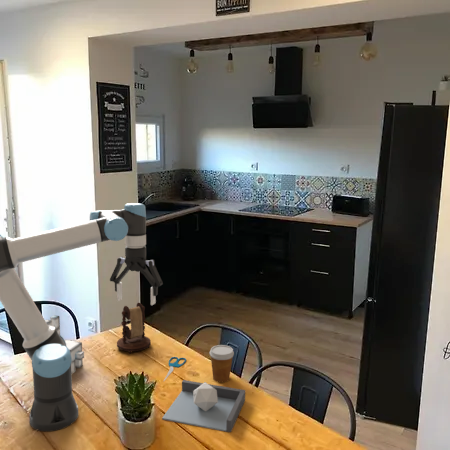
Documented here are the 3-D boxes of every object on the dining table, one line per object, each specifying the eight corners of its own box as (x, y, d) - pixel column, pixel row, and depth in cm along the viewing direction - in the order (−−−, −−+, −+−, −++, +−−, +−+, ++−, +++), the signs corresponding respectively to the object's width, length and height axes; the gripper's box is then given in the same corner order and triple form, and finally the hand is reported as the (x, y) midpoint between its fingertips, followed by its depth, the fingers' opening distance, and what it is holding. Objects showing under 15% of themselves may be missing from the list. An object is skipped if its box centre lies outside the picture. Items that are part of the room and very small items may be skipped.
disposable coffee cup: (212, 386, 174) (212, 356, 172) (206, 374, 183) (207, 345, 181) (236, 383, 177) (237, 353, 175) (229, 371, 186) (230, 343, 184)
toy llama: (77, 375, 180) (75, 326, 177) (39, 368, 185) (36, 321, 182) (88, 366, 187) (86, 319, 184) (50, 360, 192) (48, 314, 189)
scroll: (127, 357, 196) (127, 312, 192) (110, 346, 207) (109, 303, 203) (157, 348, 206) (156, 305, 202) (139, 337, 216) (138, 296, 213)
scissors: (187, 358, 195) (171, 381, 176) (187, 360, 196) (171, 384, 176) (171, 356, 197) (155, 379, 177) (171, 358, 197) (155, 382, 178)
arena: (230, 432, 146) (231, 420, 146) (162, 419, 153) (162, 408, 152) (245, 400, 165) (245, 390, 164) (183, 389, 171) (183, 379, 170)
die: (200, 399, 165) (187, 384, 161) (221, 389, 164) (208, 374, 159) (202, 419, 158) (187, 403, 154) (224, 409, 157) (210, 393, 152)
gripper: (171, 246, 168) (171, 302, 171) (110, 241, 174) (111, 295, 178) (163, 250, 161) (163, 309, 164) (99, 245, 167) (101, 301, 171)
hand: (136, 302), depth 171 cm, fingers open, 13 cm apart
